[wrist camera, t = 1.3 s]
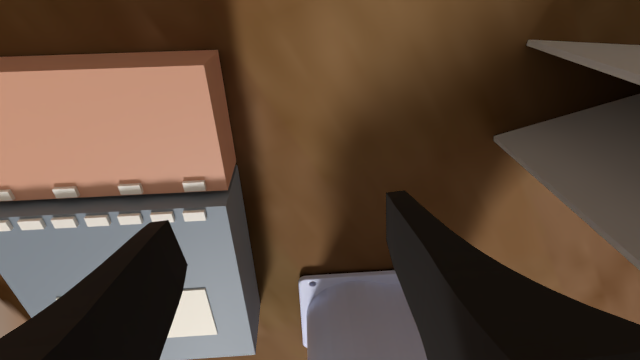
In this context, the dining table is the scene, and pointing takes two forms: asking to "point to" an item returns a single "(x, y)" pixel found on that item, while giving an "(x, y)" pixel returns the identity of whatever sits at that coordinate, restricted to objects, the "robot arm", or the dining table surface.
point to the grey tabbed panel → (114, 231)
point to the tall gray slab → (591, 148)
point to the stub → (113, 125)
